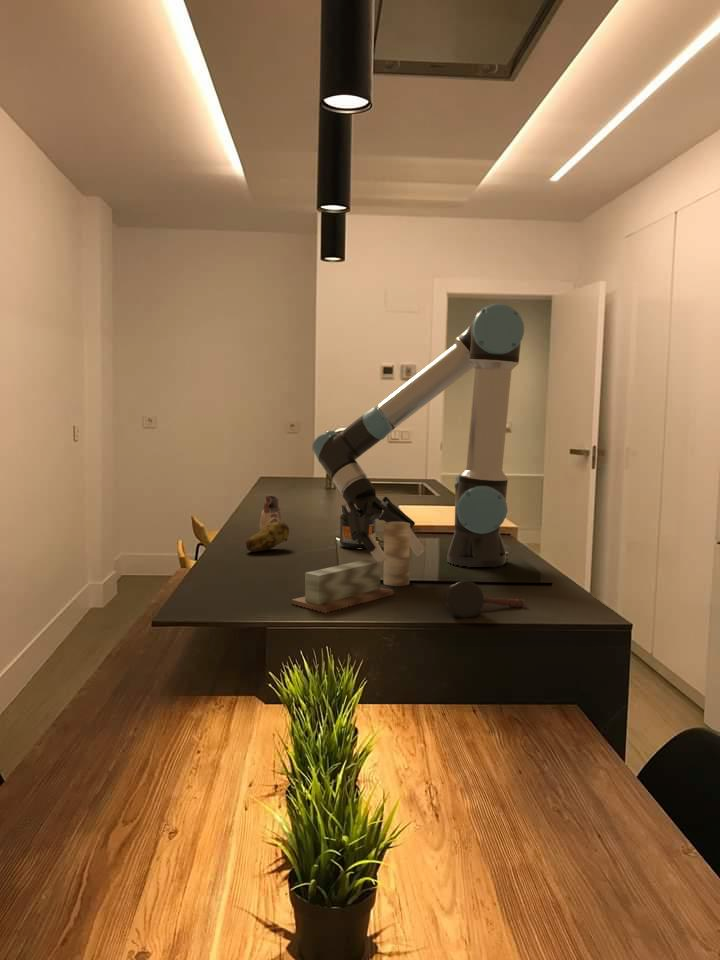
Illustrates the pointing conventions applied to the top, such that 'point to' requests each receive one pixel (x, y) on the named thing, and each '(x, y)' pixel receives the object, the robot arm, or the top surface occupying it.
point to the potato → (268, 537)
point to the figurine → (270, 511)
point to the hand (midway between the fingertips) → (402, 557)
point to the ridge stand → (342, 586)
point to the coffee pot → (472, 600)
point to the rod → (397, 553)
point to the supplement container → (346, 534)
